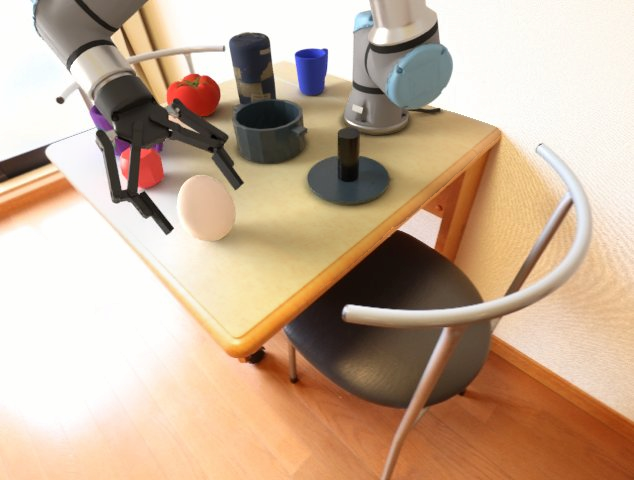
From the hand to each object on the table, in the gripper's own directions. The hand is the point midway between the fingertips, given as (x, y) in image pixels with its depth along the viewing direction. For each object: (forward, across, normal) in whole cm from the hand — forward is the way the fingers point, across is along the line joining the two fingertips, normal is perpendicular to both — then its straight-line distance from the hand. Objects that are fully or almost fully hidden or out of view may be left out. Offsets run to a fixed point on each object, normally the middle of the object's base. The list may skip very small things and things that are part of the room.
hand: (207, 208), depth 57 cm
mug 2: (-13, -57, -22) cm, 62 cm away
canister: (-16, -39, -25) cm, 49 cm away
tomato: (-23, -28, -32) cm, 49 cm away
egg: (+4, 0, -5) cm, 6 cm away
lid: (+10, -26, +2) cm, 28 cm away
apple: (-12, -2, -21) cm, 25 cm away
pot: (-5, -27, -14) cm, 30 cm away
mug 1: (-20, -9, -30) cm, 37 cm away
